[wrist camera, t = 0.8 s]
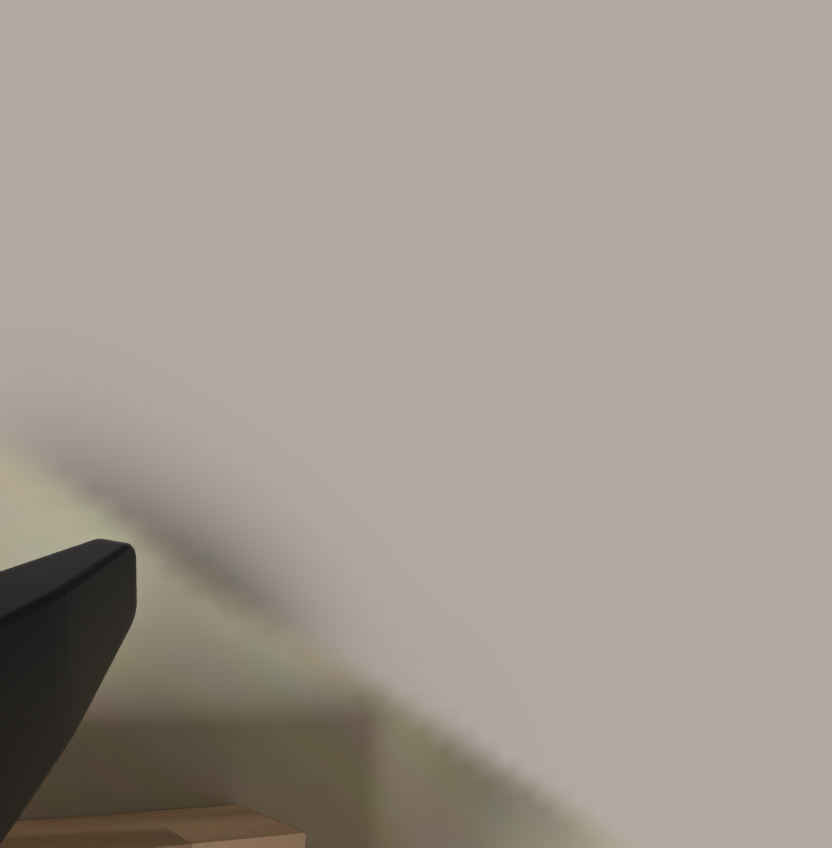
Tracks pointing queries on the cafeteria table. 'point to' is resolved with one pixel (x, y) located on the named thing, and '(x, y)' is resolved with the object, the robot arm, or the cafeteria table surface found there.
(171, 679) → the cafeteria table surface
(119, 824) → the socket block
